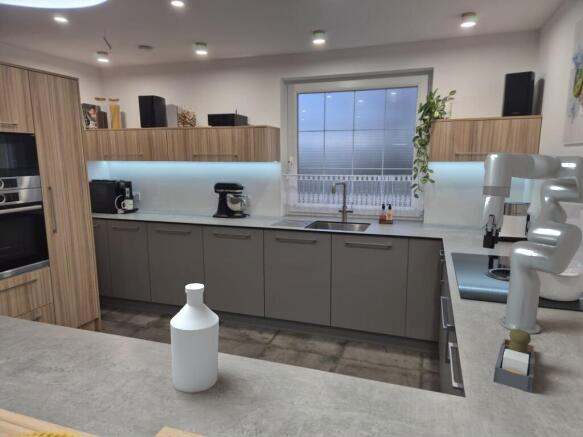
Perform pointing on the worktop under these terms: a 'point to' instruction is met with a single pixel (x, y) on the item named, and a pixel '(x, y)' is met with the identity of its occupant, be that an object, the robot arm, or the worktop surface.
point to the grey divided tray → (514, 377)
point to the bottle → (194, 343)
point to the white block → (515, 361)
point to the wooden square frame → (530, 347)
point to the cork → (519, 341)
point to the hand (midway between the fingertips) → (490, 245)
